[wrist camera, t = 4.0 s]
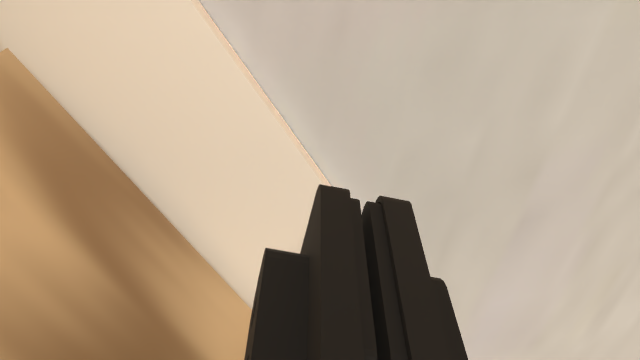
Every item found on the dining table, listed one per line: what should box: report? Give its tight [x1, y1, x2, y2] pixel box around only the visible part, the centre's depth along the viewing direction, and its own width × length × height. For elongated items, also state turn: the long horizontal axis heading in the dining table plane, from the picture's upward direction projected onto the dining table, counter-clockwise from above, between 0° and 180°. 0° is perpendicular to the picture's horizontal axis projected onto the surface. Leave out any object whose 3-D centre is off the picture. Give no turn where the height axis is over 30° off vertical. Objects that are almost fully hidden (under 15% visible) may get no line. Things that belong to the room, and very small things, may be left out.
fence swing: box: [0, 48, 252, 360], centre depth 10 cm, size 10×2×5 cm, turn 32°
